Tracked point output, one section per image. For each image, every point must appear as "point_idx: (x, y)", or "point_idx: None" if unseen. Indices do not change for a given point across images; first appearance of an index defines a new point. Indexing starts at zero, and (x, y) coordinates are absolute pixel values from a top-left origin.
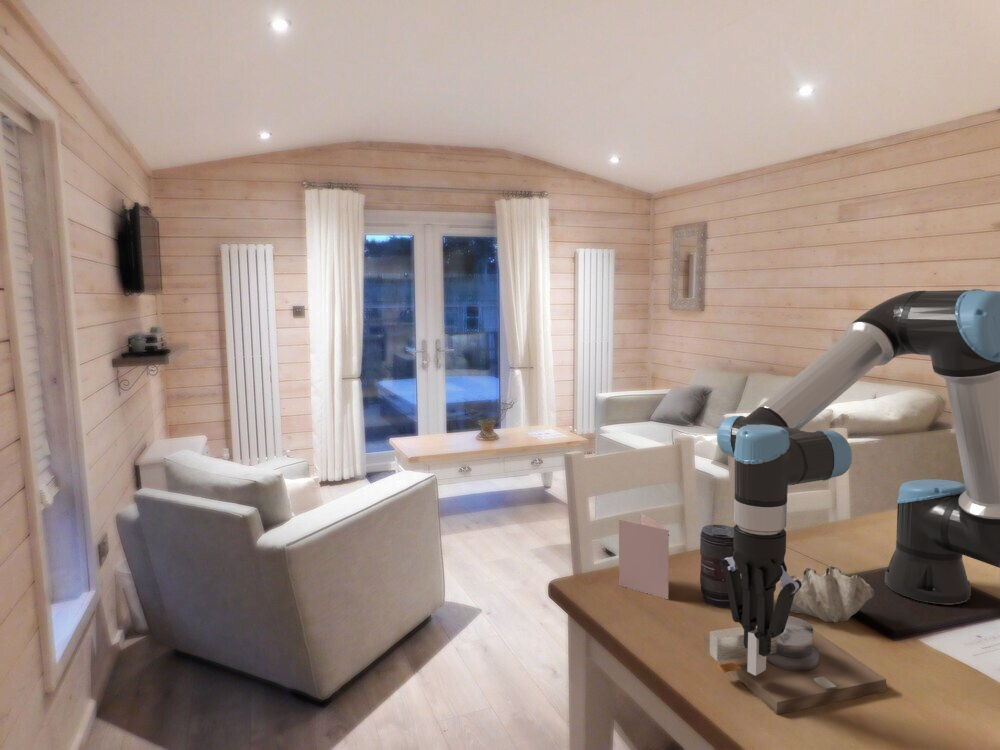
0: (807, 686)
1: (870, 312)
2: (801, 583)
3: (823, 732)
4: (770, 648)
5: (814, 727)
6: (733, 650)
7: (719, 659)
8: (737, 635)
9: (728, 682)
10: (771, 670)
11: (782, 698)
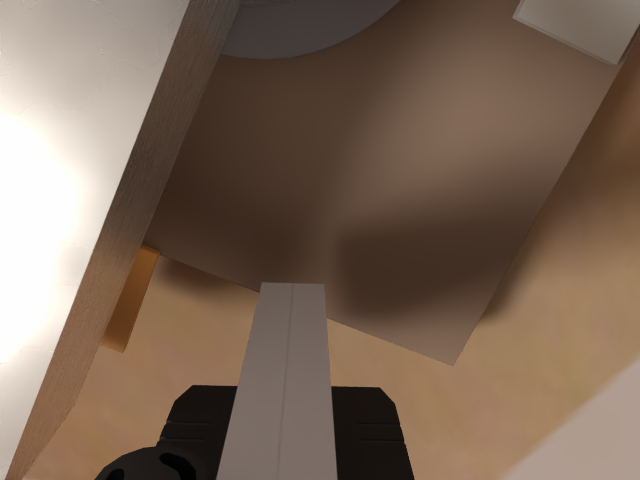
0: (511, 118)
1: None
2: None
3: (634, 294)
4: (400, 429)
5: (593, 292)
6: (86, 342)
7: (75, 401)
8: (40, 383)
9: (149, 286)
10: (279, 124)
11: (460, 323)
